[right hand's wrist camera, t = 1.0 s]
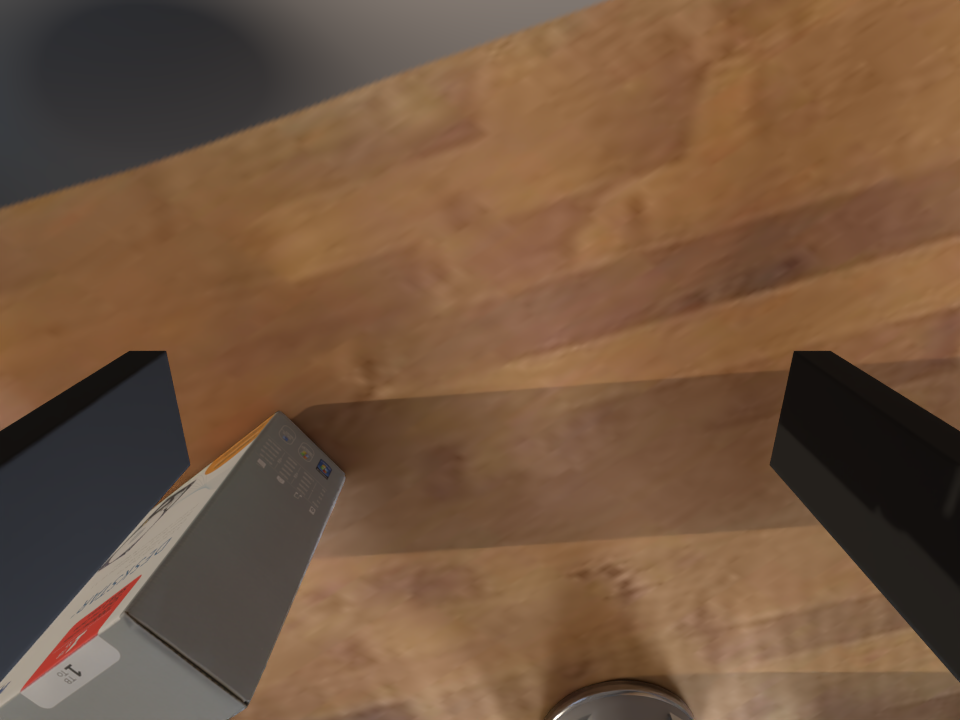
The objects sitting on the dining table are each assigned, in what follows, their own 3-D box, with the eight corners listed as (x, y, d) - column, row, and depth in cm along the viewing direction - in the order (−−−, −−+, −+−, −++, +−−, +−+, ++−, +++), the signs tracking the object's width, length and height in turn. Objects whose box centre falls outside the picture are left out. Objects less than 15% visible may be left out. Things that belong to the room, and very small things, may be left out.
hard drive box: (279, 404, 43) (128, 610, 25) (350, 473, 45) (259, 710, 27) (143, 512, 47) (-79, 762, 28) (215, 571, 49) (52, 840, 30)
